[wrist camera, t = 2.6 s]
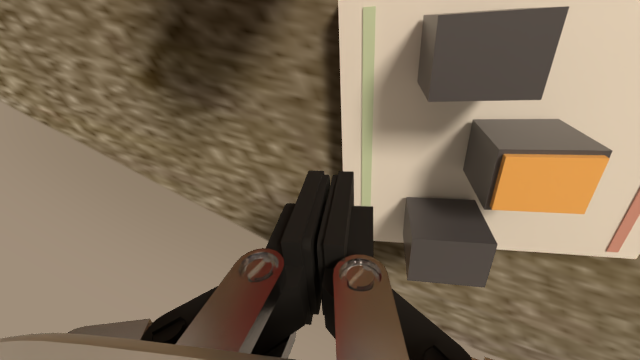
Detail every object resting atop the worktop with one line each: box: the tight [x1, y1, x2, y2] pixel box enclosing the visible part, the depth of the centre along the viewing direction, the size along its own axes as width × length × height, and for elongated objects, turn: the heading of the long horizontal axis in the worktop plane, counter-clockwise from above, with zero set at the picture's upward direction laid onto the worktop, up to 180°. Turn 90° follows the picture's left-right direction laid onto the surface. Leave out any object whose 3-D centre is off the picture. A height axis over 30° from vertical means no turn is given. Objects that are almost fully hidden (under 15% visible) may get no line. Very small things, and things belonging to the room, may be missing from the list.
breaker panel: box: [338, 0, 640, 287], centre depth 15 cm, size 18×15×6 cm
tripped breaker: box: [463, 119, 612, 214], centre depth 14 cm, size 4×3×4 cm
